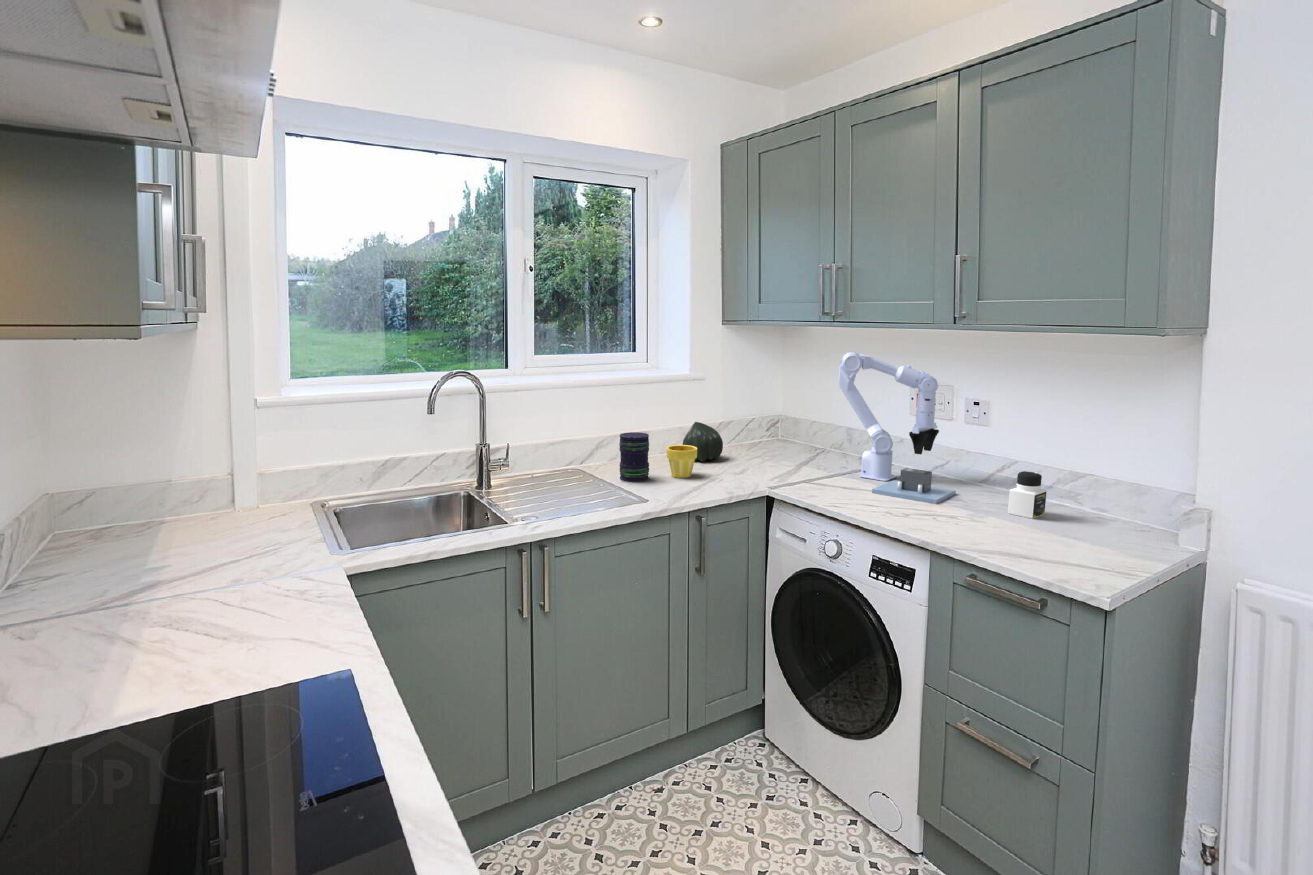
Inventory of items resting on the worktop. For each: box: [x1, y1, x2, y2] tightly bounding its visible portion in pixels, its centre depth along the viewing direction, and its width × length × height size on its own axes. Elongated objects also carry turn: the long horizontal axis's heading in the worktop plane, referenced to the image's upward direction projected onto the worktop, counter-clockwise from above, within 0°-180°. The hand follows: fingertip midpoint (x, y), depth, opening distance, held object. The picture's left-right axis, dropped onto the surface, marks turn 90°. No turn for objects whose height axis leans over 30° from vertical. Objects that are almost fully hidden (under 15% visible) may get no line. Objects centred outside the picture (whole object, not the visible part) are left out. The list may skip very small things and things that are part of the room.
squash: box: [682, 421, 724, 462], centre depth 282 cm, size 14×15×15 cm
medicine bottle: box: [1007, 470, 1047, 520], centre depth 210 cm, size 7×7×12 cm
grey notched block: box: [899, 467, 933, 493], centre depth 233 cm, size 8×4×6 cm, turn 50°
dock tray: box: [871, 479, 957, 505], centre depth 233 cm, size 20×16×4 cm
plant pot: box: [666, 444, 697, 479], centre depth 256 cm, size 10×10×10 cm
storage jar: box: [619, 432, 650, 483], centre depth 250 cm, size 10×10×15 cm
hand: (922, 452), depth 250 cm, fingers open, 7 cm apart
